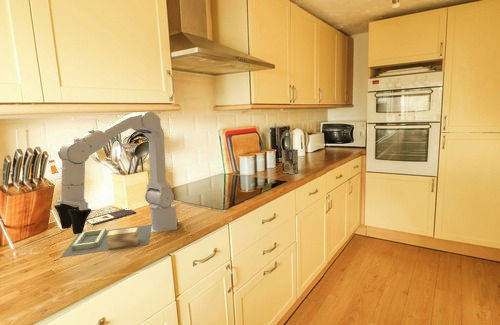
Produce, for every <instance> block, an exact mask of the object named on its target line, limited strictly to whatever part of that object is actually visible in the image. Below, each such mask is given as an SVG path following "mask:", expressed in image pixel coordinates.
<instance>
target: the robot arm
mask: <svg viewBox="0 0 500 325" xmlns="http://www.w3.org/2000/svg"><path fill="white" fill-rule="evenodd" d="M131 129H132V130H133V131H135V132H138V133H140V134H142V135H144V137H146V139H148V156H149V160H148V161H149V174H150V177H149V178H150V180H149V182H148V183H147V184H146V192H145V194H144V198H145V201H146V202H147V203H148V205H149V207H150V208H149V209H150V218H151V225H152V228H151V234H153V233H160V232H167V231H175V230H178V223H179V221H178V220H179V219H178V217H177V216H178V215H177V208H176V207H177V206H176V204H173V202H174V198H175V197H174V192H173V190H172V185H171V184H170V183H169V182H168V181H167V176H166V173H167V172H166V152H165V150H166V149H165V132H164V130H163V127H162V125H161V118H160V116H159V115H158V114H156V113H155V112H153V111H142V112H137V111H136V112H135V111H134V112H131V113H130V114H127V115H125V116H124V117H122V118H121V119H119V120H117V121H116V122H114V123H112V124H110V125H109V126H107V127H105V128H104V129H102V130H101V129H98V128H97V129H94V128H93V129H92V128H91V129H89V130H88V131H87V132H88V133H87V134H85V135H82V136H81V137H76V138H75V137H74V139H73V140H74V141H73V142H66V143H64V144H63V145H61V147H60V149H59V151H57V155H58V157H59V159H60V160H61V161H62V162H61V184H60V185H61V192H60V196H58V200H56V204H55V205H54V206H53V207H54V209H55V210H56V213H57V215H58V218H59V221H60V222H59V223H60V225H61V229H63V230H65V229H72V233H73V235H78V234H81V233H82V232H83V231H84V228H85V225H86V223H87V221H86V220H87V219H88V218H89V215H90V214H91V213H92V209H91V208H89V202H87V201H86V199H85V183H86V182H85V179H86V178H85V177H86V176H85V174H86V173H85V172H86V162H87V161H88V160H89V158H90V156H92V155H93V154H95V153H97V152H98V151H100V150H101V149H103V148H105V147H107V146H108V145H109V142H110V139H113V138H114V137H116V136H118V135H120V134H122V133H124V132H126V131H128V130H131Z"/></svg>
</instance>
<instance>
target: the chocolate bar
mask: <svg viewBox="0 0 500 325" xmlns="http://www.w3.org/2000/svg"><path fill="white" fill-rule="evenodd" d="M125 209H126V208H124V209H123V208H122V209H120V210H115V211H111V212H108V213H105V214H100V215H98V216H97V215H96V216H94V217H93V216H92V217H90V218H89V217H88V218H87V220H86V223H88V224H90V225H92V226H96V225H100V224H103V223H107V222H110V221H114V220H118V219H121V218H124V217H128V216H132V215H135V214H137V212H136V211H134V210H133V209H130V210H125Z"/></svg>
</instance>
